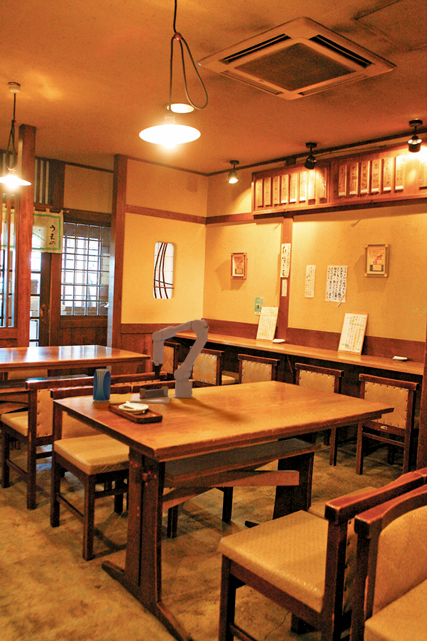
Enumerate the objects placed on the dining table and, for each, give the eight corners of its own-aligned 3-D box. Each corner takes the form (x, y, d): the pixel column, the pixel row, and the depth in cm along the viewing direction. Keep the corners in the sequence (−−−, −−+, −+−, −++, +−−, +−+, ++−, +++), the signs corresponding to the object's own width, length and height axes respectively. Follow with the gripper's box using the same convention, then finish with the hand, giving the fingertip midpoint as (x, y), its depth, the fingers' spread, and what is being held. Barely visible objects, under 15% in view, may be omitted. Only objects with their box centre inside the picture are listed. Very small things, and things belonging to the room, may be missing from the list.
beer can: (107, 403, 248) (109, 371, 248) (90, 402, 248) (92, 370, 248) (111, 400, 257) (112, 369, 256) (95, 399, 257) (96, 368, 256)
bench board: (170, 396, 272) (170, 394, 272) (169, 403, 254) (169, 401, 254) (133, 395, 271) (133, 393, 271) (129, 402, 253) (129, 400, 253)
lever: (165, 394, 271) (165, 386, 270) (169, 395, 268) (169, 387, 268) (138, 397, 259) (138, 388, 259) (141, 398, 257) (142, 389, 257)
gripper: (151, 350, 286) (150, 374, 286) (149, 353, 271) (148, 378, 272) (164, 351, 286) (163, 375, 287) (163, 354, 272) (162, 379, 272)
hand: (157, 376), depth 279 cm, fingers closed
